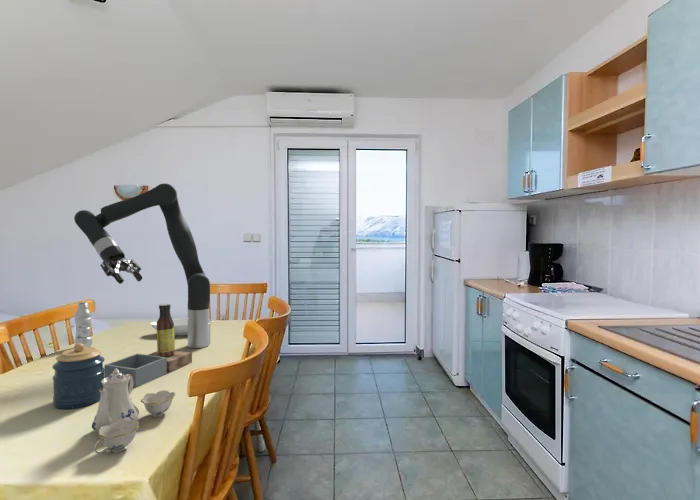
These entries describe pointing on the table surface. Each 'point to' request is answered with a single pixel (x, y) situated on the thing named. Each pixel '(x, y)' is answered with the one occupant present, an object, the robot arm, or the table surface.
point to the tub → (139, 368)
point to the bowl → (178, 326)
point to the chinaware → (123, 411)
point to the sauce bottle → (165, 332)
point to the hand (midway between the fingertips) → (131, 281)
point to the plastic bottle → (83, 325)
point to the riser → (176, 360)
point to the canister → (78, 377)
